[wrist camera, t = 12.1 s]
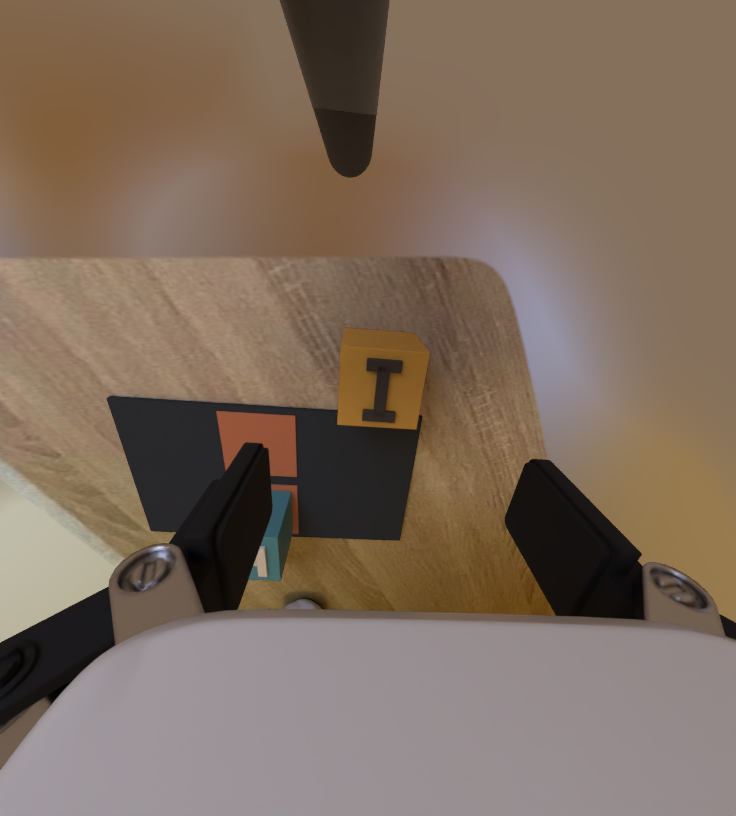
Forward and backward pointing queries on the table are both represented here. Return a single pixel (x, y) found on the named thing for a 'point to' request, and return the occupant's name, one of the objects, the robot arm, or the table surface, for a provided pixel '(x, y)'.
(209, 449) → the word mat
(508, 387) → the table surface
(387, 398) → the letter i
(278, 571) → the letter h
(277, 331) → the table surface
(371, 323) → the table surface
